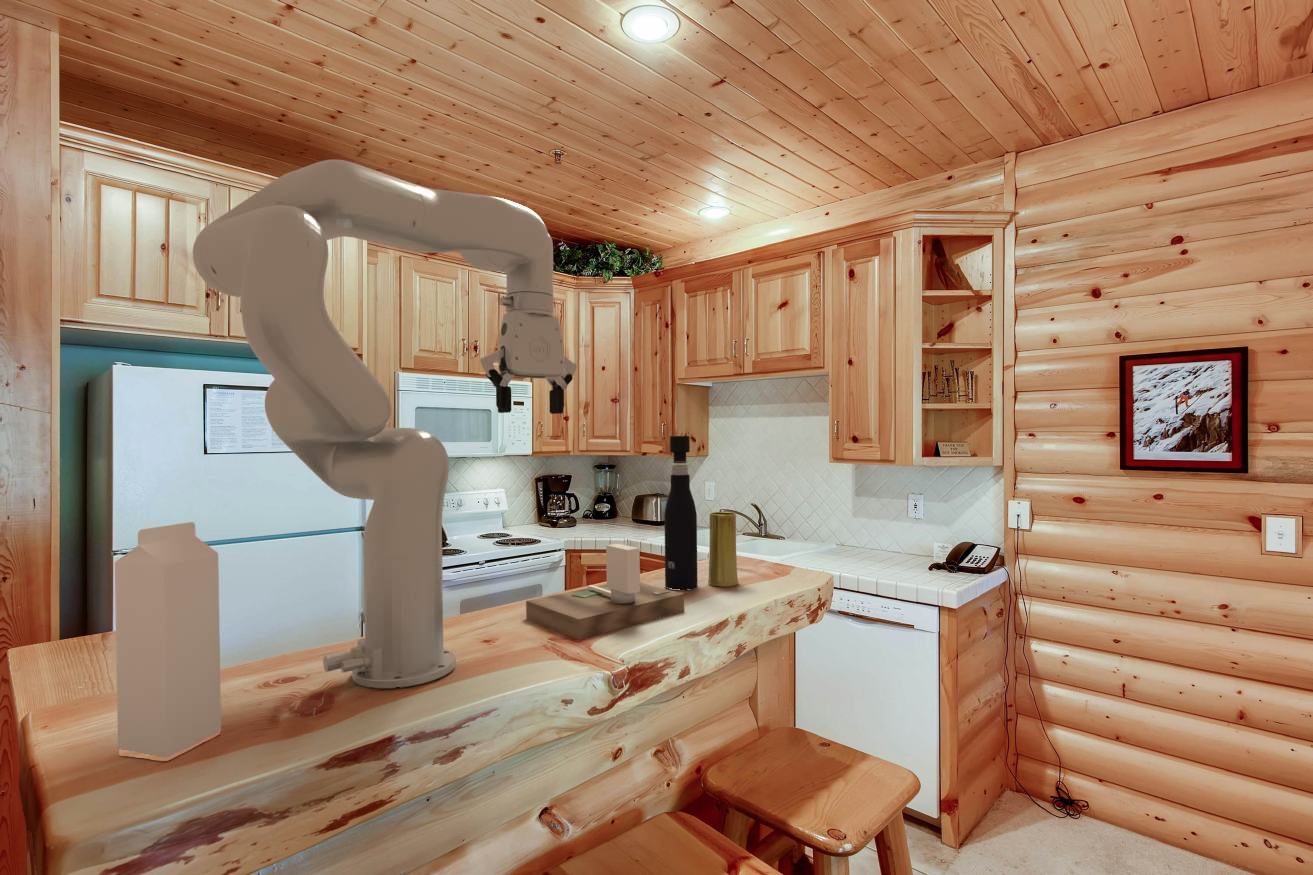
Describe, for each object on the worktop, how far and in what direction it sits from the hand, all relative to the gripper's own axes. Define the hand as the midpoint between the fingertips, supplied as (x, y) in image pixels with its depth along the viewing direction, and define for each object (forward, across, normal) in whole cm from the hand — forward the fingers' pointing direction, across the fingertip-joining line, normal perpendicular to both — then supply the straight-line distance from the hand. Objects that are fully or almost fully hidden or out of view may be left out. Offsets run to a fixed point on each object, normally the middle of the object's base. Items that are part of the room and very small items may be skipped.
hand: (531, 413), depth 107 cm
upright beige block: (+31, +11, -6) cm, 33 cm away
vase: (+34, +42, -3) cm, 54 cm away
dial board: (+34, +11, -5) cm, 36 cm away
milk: (+35, -49, -12) cm, 61 cm away
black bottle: (+34, +34, 0) cm, 48 cm away
